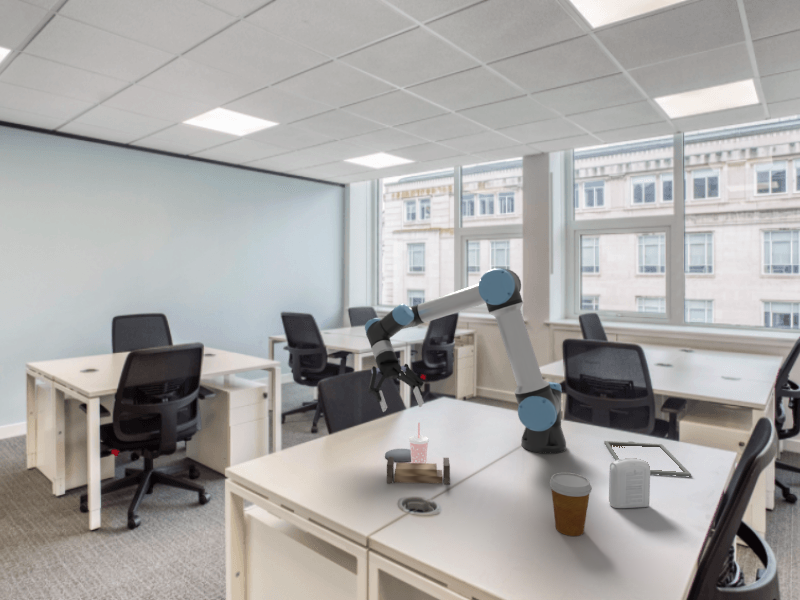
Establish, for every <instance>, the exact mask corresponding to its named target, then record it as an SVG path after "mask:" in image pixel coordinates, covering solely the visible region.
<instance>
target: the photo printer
mask: <svg viewBox="0 0 800 600" xmlns="http://www.w3.org/2000/svg"><path fill="white" fill-rule="evenodd" d="M608 476H609V478H608V479H609V480H608V481H609V484H608V502H609V505H610V506H611V507H612V508H615V509H630V508H633V509H634V508H645V507H646V508H647V507H649V506H650V495H651V493H650V492H651V491H650V490H651V489H650V488H651V485H650V484H651V475H650V466H649V464H648V462H646V461H644V460H641V459H637V458H625V459H619V460H616V461H615V460H614V461H611V463H610V465H609V475H608Z"/></svg>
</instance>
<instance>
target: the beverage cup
mask: <svg viewBox="0 0 800 600" xmlns="http://www.w3.org/2000/svg"><path fill="white" fill-rule="evenodd" d="M420 425H421V424H420V422H417V435H412V436H410V437H409V438H408V439H409V441H408V442H409V443H410V444H409V445H410V448H409V449H410V450H411V461H410V463H427V457H428V443H429V437H427V436H425V435H420V430H421V428H420V427H421V426H420Z"/></svg>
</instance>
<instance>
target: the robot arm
mask: <svg viewBox="0 0 800 600" xmlns="http://www.w3.org/2000/svg"><path fill="white" fill-rule="evenodd" d="M521 290H522V282H521V279H520V276H519V275H518V274H517V273H515V272H514V271H513V270H511V269H507V268H506V269H505V268H501V267H496V268H492V269H490V270H488V271H486V272H484V274H483V275H482V276H481V277H480V279H479V281H478V283H477V284H474V285H472V286H468V287H466V288H463V289H460V290H456V291H454V292H450V293H449V294H448V293H447V294H445V295H442V296H439V297H436V298H433V299H430V300H428V301H425V302H421V303H419V304H415V305H412V306H409V305H407V304H406V303H401V304H399V305H397V306H395V307H394V308H393V309H392V310H391V311H390V312H389V313H387V314H386V315H385V316H384V317H382V318H379V317H374V318H372V319H369V320H368V321H367V322H366V323H365V325H364V330H365V333H366V334H365V335H366V337H367V340H368V342H369V345H370V348H371V351H372V354H373V357H374V359H375V363H376V366H377V367H376V366H374V365H373V366H372V368H371V370H370V374H371V377H370V380H369V381H370V382H369V386H368V391H367V393H368V394H372V395H373V396H374V397H375V400H376V402H377V403H379V405H380V408H381V411H382V412H383V413H384V412H386V410H387V409H388V404H387V403H386V399H385V397H384V396H385V395H384V393H383V391H382V390H380V389H381V387H382V385H383V383H384V381H385V380H386V379H387V380H396V379H397V380H399V381H402V382H403V383H404V384H406V385H408V386H409V388H412V390H413V394H414V397H415V400H416V401H417V405H418V407H419V408H421V407H422V406H423V405H424V399H423V392H422V390H421V389H422V387H423V386H424V384H425V383H424V381H423V380H422V379H421V378H419V376H418V375H417V374H416V373H415V372H414V371H413V370H412V369H411V368H410V366H409V365H408V363H405V364H404V365H400V364H399V360H398V358H397V355H396V352H395V349H394V346H393V345H392V344H393V343H392V342H391V338H392V337H393V336H395V335H396V334H398V333H399V332H400V331H401V330H404V329H408V328H414V327H417V326H419V325H421V324H424V323H429V322H431V321H434V320H438V319H441V318H443V317H448V316H450V315H453V314H457V313H460V312H463V311H465V310H469V309H472V308H476V307H478V306H481V305H485V306H486V309H487V311H488V313H489V314H490V315H492V316H494V317H495V320H496V321H495V322H496V324H497V327H498V330H499V331H498V332H499V333H500V336H501V339H502V342H503V343H502V344H503V345H504V349H505V352H506V356H507V358H508V362H509V364H510V367H511V370H512V374H513V377H514V380H515V383H516V388H515V390H514V396H515V399H516V402H517V405H518V407H517V415H518V419H519V421H520V422H521V424H522V425H523V426H524V430H523V432H522V436H521V446H522V448H523V449H525V450H528V451H530V452H533V453H539V454H548V455H549V454H550V455H551V454H552V455H554V454H560V453H563V452H565V451H566V450H567V441H566V437H565V434H564V431H563V429H562V394H563V391H562V385H561V384H560V383H559V382H553V381H547V380H545V379H544V378H543V375H542V371H541V369H540V366H539V363H538V360H537V356H536V354H535V350H534V347H533V344H532V341H531V339H530V335H529V332H528V328H527V326H526V323H525V320H524V317H523V314H522V311H521V308H522V306H523V304H524V302H523V298H522V295H521ZM378 374H380V375H382V376H381V378H380V380H379V382H378V383H377V385H376V387H375V384H376V378H377V375H378Z"/></svg>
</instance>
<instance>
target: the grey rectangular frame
mask: <svg viewBox="0 0 800 600" xmlns="http://www.w3.org/2000/svg"><path fill="white" fill-rule="evenodd" d="M603 442H604V443H603V444H604V445H606V446H605V447H606V449H607V450H608V452H609V454H610V455H611V457H612V456H613V457H612V458H613V460H614V459H615V460H614V461H616V460H619V458H618V456H617V455H616V453H615V452H614V450H613V449H612V445H613V447H615V446H616V447H618V446H619V448H620V446H621V447H622V446H642V447H660V448H661V449H662V450H663V451H664V452H665V453H666V454H667V455H668V456H669V457H670V458H671V459H672V460H673V461H674V462H675V463H676V464H677V465H678V466H679V468H680V469H681V470H682V471H683V472H676V471H662V470H650V474H659V475H658V476H662V475H676V476H689V477H688V478H692V473H691V472H690V471H689V470H688V469H687V468H686V467H685V466H684V465H683V464H682V463H681V462H680V461H679V460H678V459H677V458H676V457H675V456H674V455H673V454H672V453H671V452H670V451H669V450H668V449H667V448H666V447H665V446H664V445H663V444H662V443H651V442H650V443H646V442H635V441H615V440H614V441H613V440H604V441H603ZM622 448H623V447H622ZM624 448H625V447H624ZM676 476H675V477H676Z"/></svg>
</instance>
